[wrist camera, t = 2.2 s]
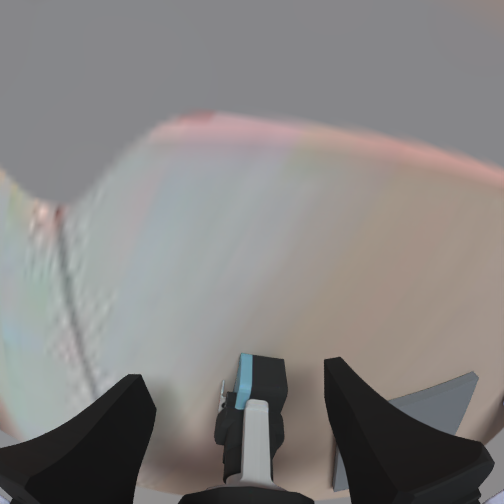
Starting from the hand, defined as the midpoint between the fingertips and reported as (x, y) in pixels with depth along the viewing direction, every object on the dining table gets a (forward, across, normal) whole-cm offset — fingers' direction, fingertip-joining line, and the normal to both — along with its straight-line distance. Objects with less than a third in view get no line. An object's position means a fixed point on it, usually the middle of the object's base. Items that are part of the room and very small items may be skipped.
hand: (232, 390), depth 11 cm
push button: (+4, 0, +4) cm, 5 cm away
